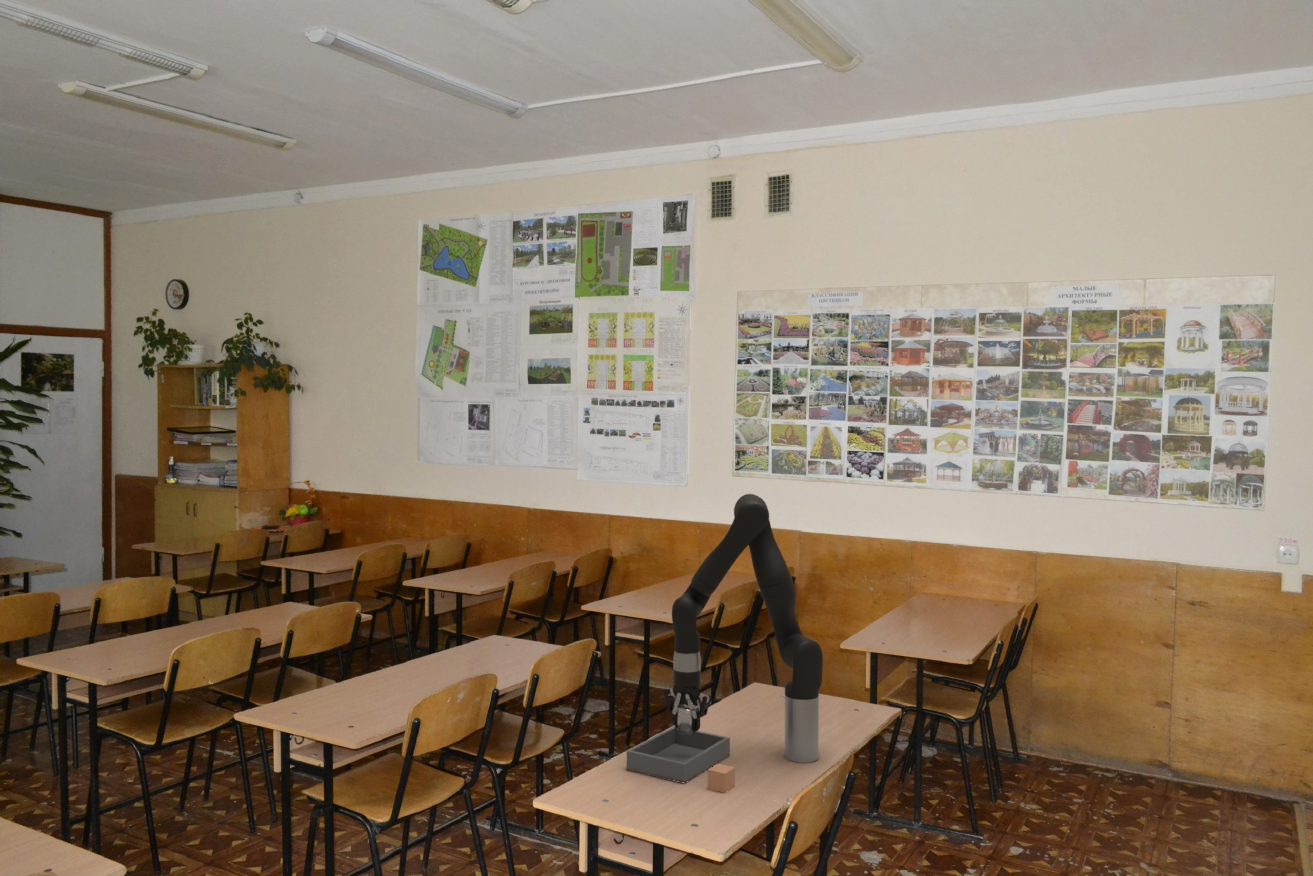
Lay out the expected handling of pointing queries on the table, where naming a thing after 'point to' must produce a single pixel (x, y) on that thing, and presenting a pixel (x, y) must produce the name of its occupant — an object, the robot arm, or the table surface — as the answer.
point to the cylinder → (685, 721)
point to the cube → (721, 778)
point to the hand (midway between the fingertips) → (686, 729)
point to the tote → (678, 754)
